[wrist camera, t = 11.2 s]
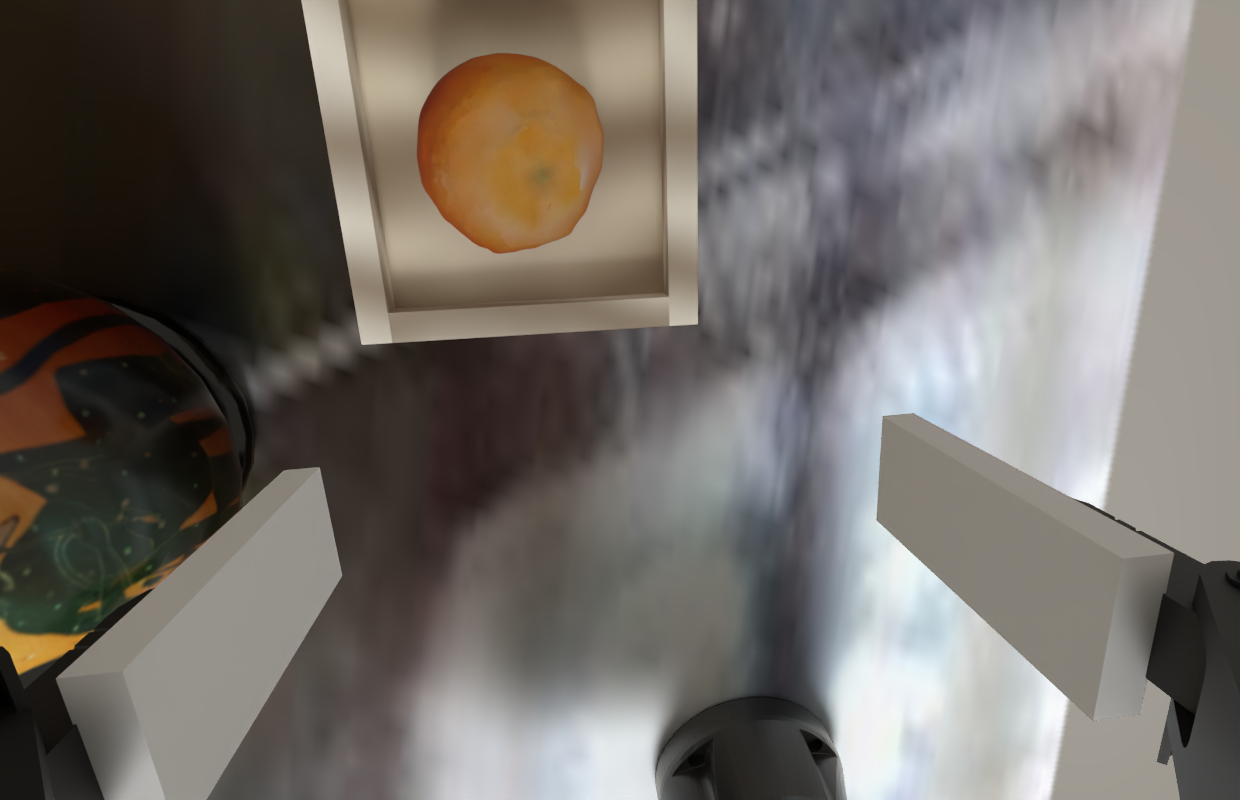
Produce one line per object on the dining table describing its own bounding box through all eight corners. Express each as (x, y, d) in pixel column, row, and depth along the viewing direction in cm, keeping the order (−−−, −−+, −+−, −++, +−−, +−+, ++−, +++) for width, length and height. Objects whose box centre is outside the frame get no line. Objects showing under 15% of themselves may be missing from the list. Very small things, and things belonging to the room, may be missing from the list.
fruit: (455, -12, 27) (528, 13, 21) (578, 108, 32) (660, 152, 27) (355, 147, 28) (400, 207, 23) (490, 235, 34) (550, 301, 29)
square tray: (672, 301, 40) (697, 324, 32) (397, 317, 38) (361, 344, 31) (667, -9, 34) (696, -62, 27) (348, -3, 33) (291, -58, 26)
